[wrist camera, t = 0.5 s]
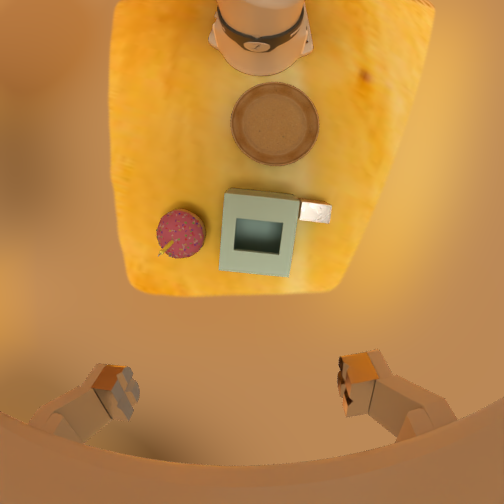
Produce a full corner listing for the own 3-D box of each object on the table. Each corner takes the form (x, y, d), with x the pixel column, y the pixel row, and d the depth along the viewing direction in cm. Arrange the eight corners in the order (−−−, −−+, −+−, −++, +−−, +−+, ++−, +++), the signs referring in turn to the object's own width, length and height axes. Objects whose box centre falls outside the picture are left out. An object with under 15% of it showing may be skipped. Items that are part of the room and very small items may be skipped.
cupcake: (187, 258, 54) (169, 284, 42) (156, 227, 52) (130, 245, 40) (219, 228, 52) (207, 248, 40) (186, 195, 50) (165, 205, 38)
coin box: (230, 187, 49) (224, 193, 41) (293, 194, 49) (299, 201, 41) (225, 252, 53) (218, 270, 45) (284, 258, 53) (288, 277, 45)
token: (298, 197, 50) (302, 201, 45) (325, 201, 50) (332, 205, 45) (296, 214, 51) (299, 219, 46) (322, 217, 51) (329, 223, 46)
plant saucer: (332, 121, 45) (336, 119, 43) (281, 182, 49) (282, 183, 47) (267, 70, 43) (267, 66, 40) (215, 132, 47) (212, 130, 44)
